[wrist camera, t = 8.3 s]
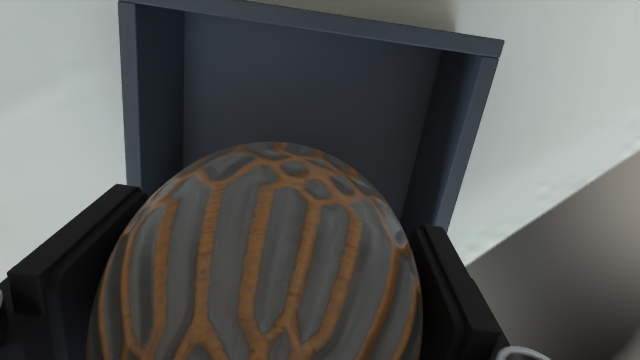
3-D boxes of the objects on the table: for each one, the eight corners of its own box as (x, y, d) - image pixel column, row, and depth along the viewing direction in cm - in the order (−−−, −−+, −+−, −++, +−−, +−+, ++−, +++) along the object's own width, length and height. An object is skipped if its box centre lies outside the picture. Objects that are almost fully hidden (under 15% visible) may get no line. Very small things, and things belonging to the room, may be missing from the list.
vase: (376, 92, 11) (511, 306, 3) (406, 291, 14) (522, 699, 6) (140, 138, 12) (-277, 422, 4) (212, 322, 14) (62, 727, 6)
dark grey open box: (175, -10, 21) (116, -19, 15) (456, 32, 22) (505, 40, 16) (175, 197, 26) (129, 253, 20) (406, 228, 27) (429, 291, 21)
